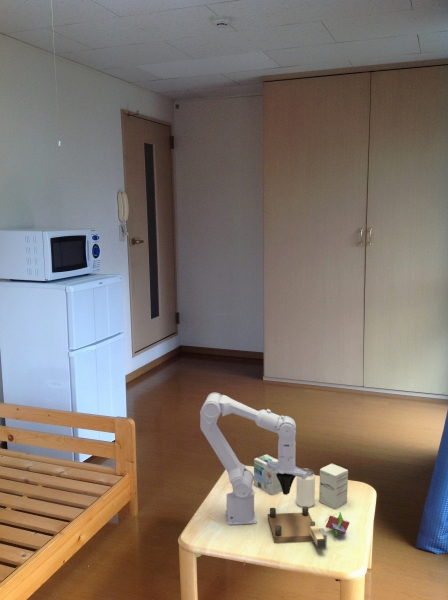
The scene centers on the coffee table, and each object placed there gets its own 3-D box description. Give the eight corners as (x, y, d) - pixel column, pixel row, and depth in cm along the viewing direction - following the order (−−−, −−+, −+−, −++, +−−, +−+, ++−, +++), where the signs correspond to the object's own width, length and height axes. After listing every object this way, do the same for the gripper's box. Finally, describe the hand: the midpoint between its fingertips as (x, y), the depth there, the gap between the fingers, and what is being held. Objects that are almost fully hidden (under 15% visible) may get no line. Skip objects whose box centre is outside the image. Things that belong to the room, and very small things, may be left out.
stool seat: (274, 543, 176) (274, 529, 175) (267, 519, 190) (267, 507, 189) (318, 541, 177) (318, 527, 176) (308, 517, 191) (308, 505, 190)
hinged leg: (324, 547, 169) (325, 537, 169) (317, 548, 169) (318, 538, 169) (315, 530, 179) (315, 520, 178) (308, 530, 178) (308, 521, 178)
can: (314, 509, 196) (314, 476, 195) (295, 507, 198) (295, 475, 196) (315, 500, 203) (315, 468, 201) (296, 498, 204) (297, 467, 202)
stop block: (321, 549, 172) (322, 535, 172) (318, 542, 176) (319, 528, 176) (326, 549, 172) (326, 535, 172) (323, 541, 176) (323, 528, 176)
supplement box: (318, 502, 201) (318, 468, 199) (331, 495, 206) (331, 462, 204) (335, 510, 196) (335, 475, 194) (347, 502, 200) (348, 469, 199)
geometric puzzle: (351, 522, 184) (337, 503, 183) (356, 533, 177) (341, 514, 176) (333, 534, 184) (319, 516, 184) (337, 546, 178) (323, 527, 177)
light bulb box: (253, 485, 214) (253, 458, 213) (266, 480, 218) (266, 453, 217) (272, 495, 206) (272, 468, 204) (285, 490, 210) (285, 463, 208)
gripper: (261, 453, 186) (261, 491, 188) (299, 464, 178) (299, 504, 180) (273, 446, 192) (272, 483, 194) (310, 456, 183) (310, 496, 185)
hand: (286, 493), depth 187 cm, fingers closed
